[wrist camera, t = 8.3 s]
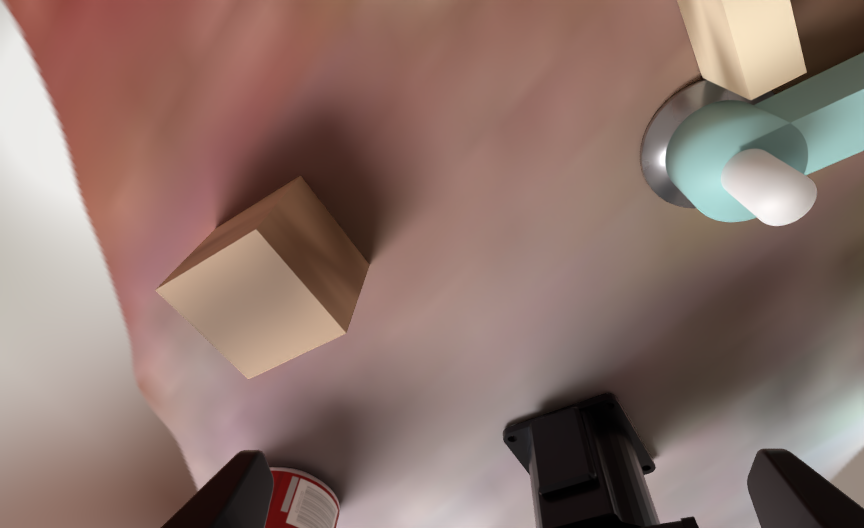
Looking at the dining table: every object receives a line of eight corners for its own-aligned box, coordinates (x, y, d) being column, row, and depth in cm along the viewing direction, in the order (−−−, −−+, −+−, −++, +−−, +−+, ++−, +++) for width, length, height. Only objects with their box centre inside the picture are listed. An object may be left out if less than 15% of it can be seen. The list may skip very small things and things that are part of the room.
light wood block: (369, 264, 22) (346, 333, 18) (287, 306, 24) (248, 379, 20) (301, 174, 20) (256, 229, 16) (216, 227, 22) (155, 290, 18)
